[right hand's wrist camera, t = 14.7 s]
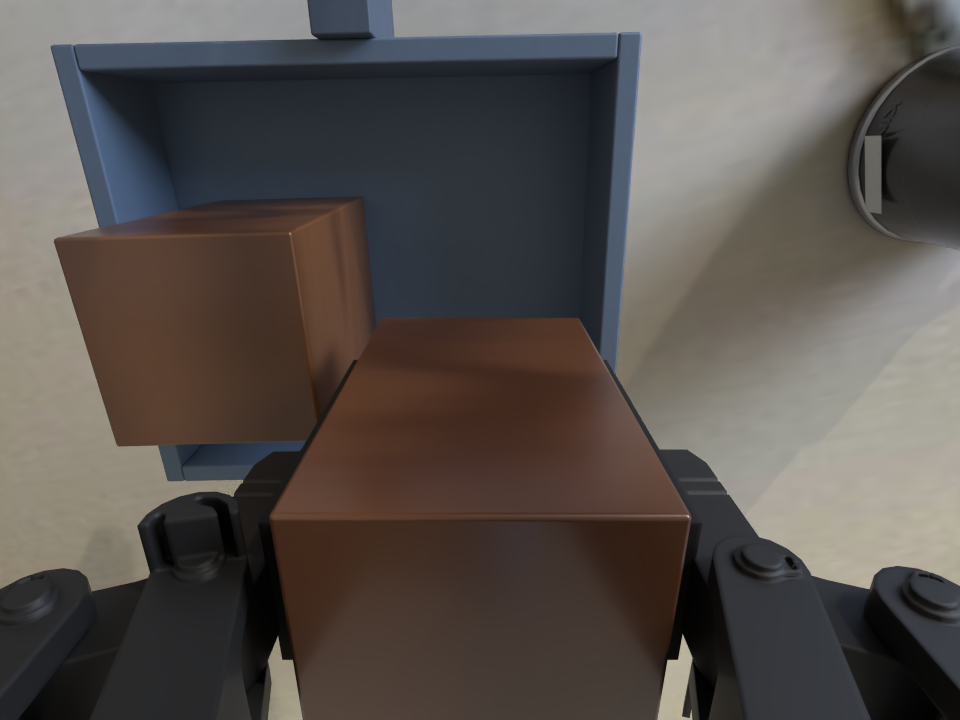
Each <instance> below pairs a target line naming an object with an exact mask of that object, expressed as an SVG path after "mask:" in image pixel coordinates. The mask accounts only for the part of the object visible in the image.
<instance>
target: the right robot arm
mask: <svg viewBox="0 0 960 720" xmlns="http://www.w3.org/2000/svg"><path fill="white" fill-rule="evenodd" d="M357 361H358V360H353V362H352V364H351V365H350V367H349V369H348V370H347V372H346V374H345V376H344V377H343V379H342V381H341V382H340V384H339V386H338V388H337V389H336V391H335V393H334V394H333V396H332V398H331V400H330V401H329V403H328V405H327V406H326V408H325V410H324V411H323V413H322V415H321V417H320V418H319V420H318V422H317V423H316V425H315V427H314V429H313V430H312V432H311V434H310V435H309V437H308V439H307V441H306V442H305V444H304V446H303V447H302V449H301V451H273V452H272V453H271V454H269V455H268V456H266V457H265V458H263V459H262V460H261V461H259V462H258V463H256V464H255V465H254V466H253V467H252V469H251V470H250V472H249V473H248V474H247V476H246V477H245V479H244V480H243V484H240V486H239V487H238V489H237V490H236V492H235V493H234V497H231V496H230V495H227V494H223V493H219V492H198V493H193V494H189V495H185V496H180V497H178V498H175V499H173V500H171V501H168V502H166V503H164V504H161V505H160V506H159V507H157V508H156V509H154V510H153V511H151V512H150V513H148V514H147V515H146V516H145V517H144V519H143V520H142V521H141V522H140V523H139V525H138V526H137V527H138V530H139V534H140V538H141V541H142V545H143V549H144V552H145V556H146V559H147V563H148V567H149V570H150V575H149V577H148V578H147V579H144V580H140V581H137V582H133V583H129V584H124V585H120V586H115V587H111V588H106V589H102V590H97V591H93V592H92V591H91V588H90V585H89V582H88V579H87V577H86V576H84V575H83V574H82V573H81V572H80V571H77V570H71V569H64V568H63V569H55V570H48V571H42V572H39V573H36V574H33V575H29V576H27V577H24V578H21V579H19V580H17V581H15V582H13V583H11V584H10V585H8V586H6V587H4V588H2V589H0V720H268V711H269V701H270V691H271V676H270V670H269V664H268V659H269V656H270V654H271V651H272V649H273V646H274V644H275V642H276V639H277V637H279V643H280V648H281V654H282V660H293V657H292V651H291V645H290V639H289V633H288V627H287V621H286V615H285V609H284V603H283V597H282V591H281V585H280V579H279V573H278V567H277V562H276V556H275V550H274V544H273V538H272V532H271V526H270V519H269V517H270V514H271V512H272V510H273V508H274V507H275V505H276V503H277V501H278V500H279V498H280V496H281V494H282V493H283V491H284V489H285V487H286V486H287V484H288V482H289V480H290V479H291V477H292V475H293V473H294V472H295V470H296V468H297V466H298V465H299V463H300V461H301V459H302V457H303V456H304V454H305V452H306V450H307V449H308V447H309V445H310V443H311V442H312V440H313V438H314V436H315V435H316V433H317V431H318V429H319V428H320V426H321V424H322V422H323V421H324V419H325V417H326V415H327V414H328V412H329V410H330V408H331V407H332V405H333V403H334V401H335V400H336V398H337V396H338V394H339V392H340V391H341V389H342V387H343V385H344V384H345V382H346V380H347V378H348V377H349V375H350V373H351V371H352V370H353V368H354V366H355V364H356V363H357ZM603 362H604V363H605V365H606V367H607V369H608V370H609V372H610V374H611V376H612V377H613V379H614V381H615V383H616V384H617V386H618V388H619V390H620V391H621V393H622V395H623V397H624V399H625V400H626V402H627V404H628V406H629V407H630V409H631V411H632V413H633V414H634V416H635V418H636V420H637V421H638V423H639V425H640V427H641V428H642V430H643V432H644V434H645V436H646V437H647V439H648V441H649V443H650V444H651V446H652V448H653V450H654V451H655V453H656V455H657V457H658V458H659V460H660V462H661V464H662V465H663V467H664V469H665V471H666V473H667V474H668V476H669V478H670V480H671V481H672V483H673V485H674V487H675V488H676V490H677V492H678V494H679V495H680V497H681V499H682V501H683V502H684V504H685V506H686V508H687V510H688V511H689V513H690V515H691V524H690V530H689V536H688V542H687V548H686V553H685V559H684V565H683V571H682V577H681V583H680V589H679V595H678V600H677V606H676V612H675V618H674V624H673V630H672V636H671V642H670V648H669V653H668V659H667V660H678V656H679V651H680V645H681V639H682V634H683V635H684V638H685V640H686V643H687V645H688V648H689V650H690V652H691V655H692V657H693V659H692V664H691V670H690V675H689V680H688V685H687V690H686V696H685V701H684V707H683V714H682V716H683V717H687V718H690V713H691V709H692V719H693V720H960V586H959V585H957V584H955V583H953V582H951V581H949V580H947V579H945V578H943V577H941V576H939V575H936V574H933V573H929V572H927V571H923V570H920V569H916V568H908V567H901V566H895V567H888V568H883V569H881V570H880V571H879V572H878V573H877V574H875V575H874V578H873V581H872V584H871V587H870V590H869V589H865V588H860V587H856V586H851V585H847V584H842V583H838V582H833V581H829V580H825V579H821V578H818V577H814V576H811V574H810V572H809V570H808V569H807V567H806V566H805V564H804V563H803V561H802V560H801V559H800V558H798V557H797V556H796V555H795V554H793V553H792V552H791V551H790V550H788V549H787V548H785V547H783V546H781V545H779V544H777V543H774V542H772V541H770V540H767V539H763V538H759V537H758V535H757V534H756V532H755V531H754V529H753V528H752V527H751V525H750V524H749V522H748V521H747V520H746V518H745V517H744V515H743V514H742V513H741V511H740V510H739V508H738V507H737V505H736V504H735V503H734V501H733V500H732V498H731V497H730V496H729V495H727V491H726V490H725V489H724V487H723V486H722V484H721V483H720V482H718V481H717V477H716V476H715V474H714V473H713V472H712V470H711V469H710V467H709V466H708V465H707V463H706V462H704V461H703V460H701V459H700V458H698V457H697V456H695V455H694V454H693V453H691V452H690V451H688V450H659V448H658V447H657V445H656V443H655V442H654V440H653V438H652V436H651V435H650V433H649V431H648V430H647V428H646V426H645V424H644V423H643V421H642V419H641V418H640V416H639V414H638V412H637V411H636V409H635V407H634V406H633V404H632V402H631V401H630V399H629V397H628V395H627V394H626V392H625V390H624V389H623V387H622V385H621V383H620V382H619V380H618V378H617V377H616V375H615V373H614V371H613V370H612V368H611V366H610V365H609V363H608V361H607V360H603Z"/></svg>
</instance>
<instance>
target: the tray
mask: <svg viewBox="0 0 960 720" xmlns="http://www.w3.org/2000/svg"><path fill="white" fill-rule="evenodd" d="M307 1H308V9H309V18H310V27H311V33H312V35H313V36H315V37H316V38H318V39H305V40H259V41H214V42H168V43H122V44H77V45H52V46H51V51H52V54H53V58H54V62H55V65H56V69H57V73H58V76H59V80H60V84H61V88H62V91H63V95H64V99H65V102H66V106H67V110H68V113H69V117H70V121H71V125H72V128H73V132H74V136H75V139H76V143H77V147H78V150H79V154H80V158H81V162H82V165H83V169H84V173H85V176H86V180H87V184H88V187H89V191H90V195H91V199H92V202H93V206H94V210H95V213H96V217H97V221H98V224H99V228H102V227H106V226H111V225H115V224H119V223H124V222H128V221H132V220H137V219H141V218H145V217H150V216H154V215H158V214H163V213H167V212H171V211H176V210H180V209H185V208H189V207H193V206H198V205H202V204H206V203H211V202H215V201H219V200H254V199H289V198H324V197H359V196H361V197H363V199H364V209H365V219H366V229H367V239H368V249H369V259H370V269H371V279H372V288H373V298H374V308H375V318H376V327H377V326H378V324H379V322H380V320H381V319H382V318H579V319H580V321H581V323H582V325H583V326H584V328H585V330H586V332H587V333H588V335H589V337H590V339H591V340H592V342H593V344H594V346H595V347H596V349H597V351H598V353H599V355H600V356H601V358H602V360H607V361H608V363H609V365H610V366H611V368H612V370H613V371H614V373H615V375H616V364H617V351H618V338H619V325H620V312H621V299H622V286H623V273H624V260H625V247H626V234H627V221H628V208H629V195H630V182H631V169H632V156H633V143H634V130H635V117H636V104H637V90H638V77H639V64H640V51H641V38H642V35H641V33H640V32H626V33H620V34H617V33H580V34H534V35H489V36H443V37H397V38H394V27H393V13H392V0H307ZM305 442H306V441H294V442H258V443H221V444H185V445H158V447H159V450H160V454H161V458H162V461H163V465H164V469H165V472H166V476H167V480H168V481H184V480H186V481H201V480H244V479H245V477H246V476H247V474H248V473H249V472H250V470H251V469H252V467H253V466H254V465H255V464H256V463H258V462H259V461H261V460H262V459H263V458H265V457H266V456H268V455H269V454H271V453H272V452H273V451H301V449H302V447H303V446H304V444H305Z"/></svg>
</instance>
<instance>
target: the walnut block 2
mask: <svg viewBox="0 0 960 720" xmlns="http://www.w3.org/2000/svg"><path fill="white" fill-rule="evenodd" d="M269 519H270V526H271V532H272V538H273V544H274V550H275V556H276V562H277V567H278V573H279V579H280V585H281V591H282V597H283V603H284V609H285V615H286V621H287V627H288V633H289V639H290V645H291V651H292V657H293V663H294V669H295V675H296V681H297V687H298V693H299V699H300V705H301V711H302V717H303V720H657V718H658V712H659V706H660V700H661V695H662V689H663V683H664V677H665V671H666V665H667V659H668V653H669V648H670V642H671V636H672V630H673V624H674V618H675V612H676V606H677V600H678V595H679V589H680V583H681V577H682V571H683V565H684V559H685V553H686V548H687V542H688V536H689V530H690V524H691V515H690V513H689V511H688V510H687V508H686V506H685V504H684V502H683V501H682V499H681V497H680V495H679V494H678V492H677V490H676V488H675V487H674V485H673V483H672V481H671V480H670V478H669V476H668V474H667V473H666V471H665V469H664V467H663V465H662V464H661V462H660V460H659V458H658V457H657V455H656V453H655V451H654V450H653V448H652V446H651V444H650V443H649V441H648V439H647V437H646V436H645V434H644V432H643V430H642V428H641V427H640V425H639V423H638V421H637V420H636V418H635V416H634V414H633V413H632V411H631V409H630V407H629V406H628V404H627V402H626V400H625V399H624V397H623V395H622V393H621V391H620V390H619V388H618V386H617V384H616V383H615V381H614V379H613V377H612V376H611V374H610V372H609V370H608V369H607V367H606V365H605V363H604V362H603V360H602V358H601V356H600V355H599V353H598V351H597V349H596V347H595V346H594V344H593V342H592V340H591V339H590V337H589V335H588V333H587V332H586V330H585V328H584V326H583V325H582V323H581V321H580V319H579V318H382V319H381V320H380V322H379V324H378V326H377V327H376V329H375V331H374V333H373V335H372V336H371V338H370V340H369V342H368V343H367V345H366V347H365V349H364V350H363V352H362V354H361V356H360V357H359V359H358V361H357V363H356V364H355V366H354V368H353V370H352V371H351V373H350V375H349V377H348V378H347V380H346V382H345V384H344V385H343V387H342V389H341V391H340V392H339V394H338V396H337V398H336V400H335V401H334V403H333V405H332V407H331V408H330V410H329V412H328V414H327V415H326V417H325V419H324V421H323V422H322V424H321V426H320V428H319V429H318V431H317V433H316V435H315V436H314V438H313V440H312V442H311V443H310V445H309V447H308V449H307V450H306V452H305V454H304V456H303V457H302V459H301V461H300V463H299V465H298V466H297V468H296V470H295V472H294V473H293V475H292V477H291V479H290V480H289V482H288V484H287V486H286V487H285V489H284V491H283V493H282V494H281V496H280V498H279V500H278V501H277V503H276V505H275V507H274V508H273V510H272V512H271V514H270V517H269Z"/></svg>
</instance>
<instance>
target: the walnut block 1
mask: <svg viewBox="0 0 960 720" xmlns="http://www.w3.org/2000/svg"><path fill="white" fill-rule="evenodd" d="M54 244H55V247H56V250H57V253H58V256H59V260H60V263H61V266H62V269H63V273H64V276H65V279H66V282H67V286H68V289H69V292H70V295H71V298H72V302H73V305H74V308H75V311H76V315H77V318H78V321H79V324H80V328H81V331H82V334H83V337H84V341H85V344H86V347H87V350H88V353H89V357H90V360H91V363H92V366H93V370H94V373H95V376H96V379H97V383H98V386H99V389H100V392H101V395H102V399H103V402H104V405H105V408H106V412H107V415H108V418H109V421H110V425H111V428H112V431H113V434H114V437H115V441H116V444H117V445H118V446H149V445H185V444H221V443H258V442H294V441H307V439H308V437H309V435H310V434H311V432H312V430H313V429H314V427H315V425H316V423H317V422H318V420H319V418H320V417H321V415H322V413H323V411H324V410H325V408H326V406H327V405H328V403H329V401H330V400H331V398H332V396H333V394H334V393H335V391H336V389H337V388H338V386H339V384H340V382H341V381H342V379H343V377H344V376H345V374H346V372H347V370H348V369H349V367H350V365H351V364H352V362H353V360H358V359H359V357H360V356H361V354H362V352H363V350H364V349H365V347H366V345H367V343H368V342H369V340H370V338H371V336H372V335H373V333H374V331H375V329H376V318H375V308H374V298H373V288H372V279H371V269H370V259H369V249H368V239H367V229H366V219H365V209H364V199H363V197H361V196H359V197H324V198H289V199H254V200H219V201H215V202H211V203H206V204H202V205H198V206H193V207H189V208H185V209H180V210H176V211H171V212H167V213H163V214H158V215H154V216H150V217H145V218H141V219H137V220H132V221H128V222H124V223H119V224H115V225H111V226H106V227H102V228H98V229H93V230H89V231H85V232H80V233H76V234H72V235H67V236H63V237H58V238H56V239H54Z"/></svg>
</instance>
